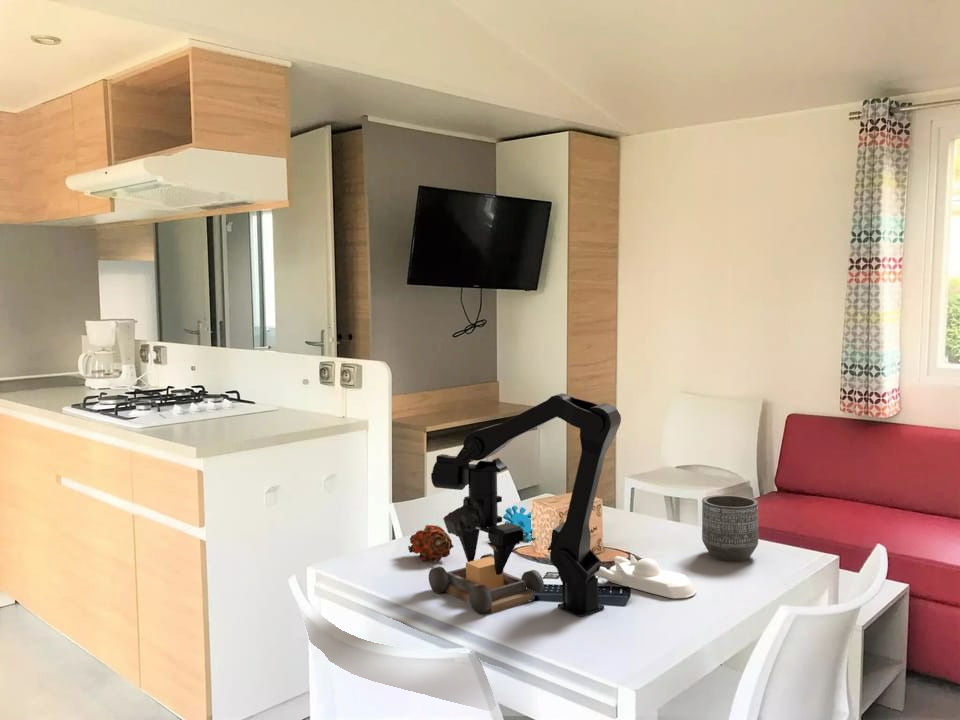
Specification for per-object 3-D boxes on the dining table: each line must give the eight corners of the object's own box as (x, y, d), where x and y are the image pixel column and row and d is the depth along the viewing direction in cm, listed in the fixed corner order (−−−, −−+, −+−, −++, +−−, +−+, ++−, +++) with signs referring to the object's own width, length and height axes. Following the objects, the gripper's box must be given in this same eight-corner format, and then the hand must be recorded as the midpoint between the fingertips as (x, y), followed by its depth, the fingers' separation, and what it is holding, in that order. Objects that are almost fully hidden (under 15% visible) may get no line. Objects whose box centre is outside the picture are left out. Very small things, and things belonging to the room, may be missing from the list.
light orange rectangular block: (503, 586, 162) (503, 561, 162) (479, 593, 158) (479, 568, 158) (489, 580, 165) (489, 556, 165) (466, 587, 162) (465, 562, 162)
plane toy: (680, 606, 154) (680, 576, 154) (592, 583, 167) (592, 556, 167) (705, 591, 162) (705, 562, 162) (619, 571, 175) (619, 544, 175)
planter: (770, 559, 180) (770, 503, 179) (728, 568, 175) (728, 509, 174) (731, 545, 191) (731, 492, 190) (690, 552, 186) (690, 498, 185)
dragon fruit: (449, 572, 180) (413, 569, 188) (467, 543, 186) (431, 541, 193) (430, 547, 177) (393, 545, 185) (448, 517, 182) (412, 517, 190)
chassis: (544, 598, 159) (543, 573, 159) (485, 616, 150) (485, 590, 150) (485, 574, 174) (484, 551, 174) (428, 589, 165) (428, 565, 165)
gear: (514, 539, 194) (500, 504, 200) (502, 552, 197) (488, 517, 203) (550, 537, 200) (534, 503, 206) (538, 550, 203) (523, 516, 209)
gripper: (423, 490, 163) (425, 565, 164) (479, 507, 148) (480, 590, 149) (467, 481, 170) (469, 554, 171) (525, 497, 155) (526, 577, 156)
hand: (484, 568), depth 162 cm, fingers open, 9 cm apart
